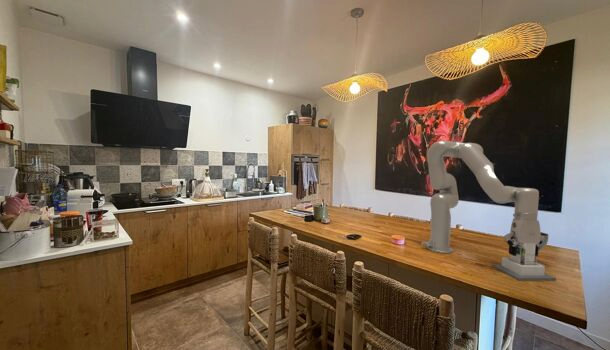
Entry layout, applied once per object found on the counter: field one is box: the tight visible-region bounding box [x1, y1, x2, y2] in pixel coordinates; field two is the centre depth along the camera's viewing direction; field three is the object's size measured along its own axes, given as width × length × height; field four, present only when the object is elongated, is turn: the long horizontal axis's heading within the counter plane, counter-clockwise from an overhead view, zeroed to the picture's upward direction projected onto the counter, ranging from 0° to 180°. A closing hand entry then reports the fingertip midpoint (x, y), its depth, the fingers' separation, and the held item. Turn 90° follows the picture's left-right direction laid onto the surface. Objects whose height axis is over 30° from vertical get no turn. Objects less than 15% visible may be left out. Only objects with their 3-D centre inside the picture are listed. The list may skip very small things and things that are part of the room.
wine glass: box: [534, 231, 549, 267], centre depth 119 cm, size 8×8×15 cm
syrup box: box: [510, 239, 536, 265], centre depth 109 cm, size 6×6×14 cm
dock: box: [491, 256, 557, 281], centre depth 109 cm, size 16×14×5 cm
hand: (523, 254), depth 109 cm, fingers open, 9 cm apart
